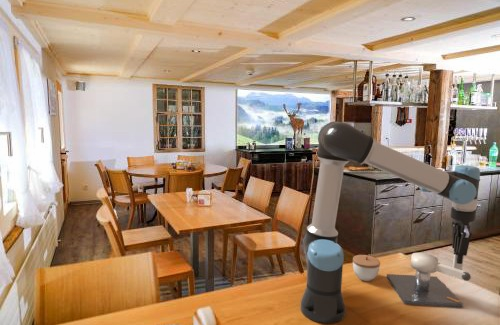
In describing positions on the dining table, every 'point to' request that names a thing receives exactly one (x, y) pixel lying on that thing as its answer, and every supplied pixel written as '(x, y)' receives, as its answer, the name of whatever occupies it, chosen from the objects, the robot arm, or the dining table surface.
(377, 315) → the dining table surface
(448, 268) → the coupling lever handle
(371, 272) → the lidded jar
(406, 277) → the base
